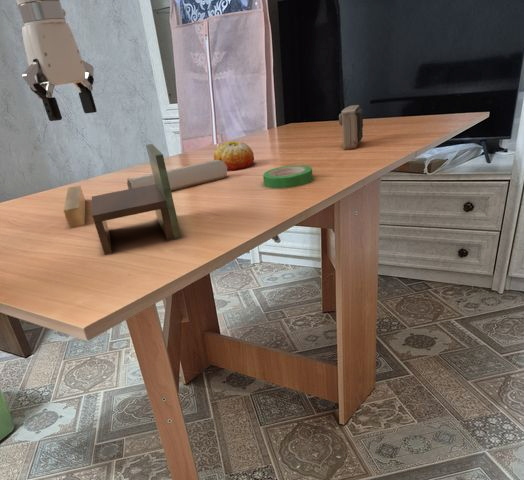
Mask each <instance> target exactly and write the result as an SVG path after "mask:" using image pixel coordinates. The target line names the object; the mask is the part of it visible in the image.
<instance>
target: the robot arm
mask: <svg viewBox="0 0 524 480" xmlns="http://www.w3.org/2000/svg"><path fill="white" fill-rule="evenodd" d="M15 1H16V4H17V6H18V7H17V8H18V10H19V14H20V16H21V19H22V23H23V26H21V35H22V40H23V46H24V51H25V55H26V59H27V63H28V67H27V68H26V70H25V71H23V72H22V75H21V76H22V78H23V80H24V81H25V83H26V84H27V85H28V86H29V88H30V91H32V92H33V93H34V94H35V95H36V96H37V98H38V99H39V100H41V101H42V103H43V107H44V110H45V113H46V115H47V118H48V120H49V122H55V121H62V119H63V116H62V113H61V110H60V107H59V104H58V101H57V98H56V97H55V96H53V94H54V89H55V86H61V85H67V84H73V85H74V86H75V87H76V88H77V89H78V90H79V91H80V92H78V97H79V100H80V103H81V107H82V111H83V113H85V114H93V113H94V114H95V113H97V111H98V110H97V107H96V103H95V100H94V96H93V92H92V91H93V90H94V87H93V85H94V82H95V78H94V69H95V68H94V66H93V65H92V64H90V63H88V62H87V61H85V60H83V59H82V56H81V52H80V49H79V46H78V43H77V41H76V39H75V36H74V34H73V31H72V29H71V26H70V24H69V23H67V20H66V15H67V14H66V11H65V9H64V8H63V7H62V4H61V0H15Z"/></svg>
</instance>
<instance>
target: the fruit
mask: <svg viewBox="0 0 524 480" xmlns="http://www.w3.org/2000/svg"><path fill="white" fill-rule="evenodd" d="M213 160H221V161H223V162H224V163H225V164H226V166H227V172H233V171H234V172H235V171H237V170H244V169H247V168H250V167H252V166H253V165H254V162H255V156H254V152H253V150H252V148H251V147H250V145H248V144H246V143H244V142H241V141H240V142H236V141H227V142H223V143H222V144H221V145H219V146H218V147H217V148H216V150H215V152H214V153H213Z"/></svg>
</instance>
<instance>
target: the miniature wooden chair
mask: <svg viewBox="0 0 524 480" xmlns="http://www.w3.org/2000/svg"><path fill="white" fill-rule="evenodd" d="M145 148H146V151H147V156H148V159H149V164H150V168H151V169H150V170H151V172H152V173H151V174H153V177H154V181H155V184H153V185H148V186H143V187H138V188H133V189H128V188H127V189H124V190H119V191H113V192H108V193H102V194H97V195H92V196H91V217H92V219H93V223H94V225H95V229H96V232H97V235H98V238H99V242H100V244H101V248H102V250H103V253H104V255H105V256H107V255H111V254H113V251H112V244H111V237H110V229H109V226H108V223H107V221H111V220H115V219H119V218H125V217H129V216H134V215H139V214H144V213H148V212H153V211H154V213H155V215H156V220H157V222H158V224H159V226H160V228H161V230H162V232H163V234H164V236H165V238H166V240H167V241H168V242H169V241H170V242H171V241H174V240H178V239H182V234H181V229H180V225H179V224H180V223H179V220H178V216H177V215H178V214H177V212H176V207H175V202H174V198H173V194H172V193H173V192H172V191H171V189H170V184H169V180H168V175H167V171H168V170H167V166H166V162H165V158H164V154H163V153H162V152H161V151H160V150H159V149H158V148H157V147H156V146H155V145H154V144H153V143H149V144H148V143H147V144H146V145H145Z"/></svg>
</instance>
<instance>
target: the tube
mask: <svg viewBox="0 0 524 480" xmlns="http://www.w3.org/2000/svg"><path fill="white" fill-rule="evenodd" d="M166 171H167V175H168V180H169V184H170V189H171V192H174V191H178V190H182V189H186V188H190V187H194V186H197V185H202V184H207V183H211V182H214V181H219V180H223V179H225V178H226V177H227V176H228V171H227V166H226V164H225V163H224V162H223V161H221V160H214V159H213V160H209V161H205V162H200V163H196V164H195V163H194V164H191V165H187V166H186V165H185V166H181V167H178V168H172V169H168V170H166ZM153 184H155V181H154V177H153V173H150V174H145V175H142V176H141V175H140V176H136V177H132V178H130V177H127V179H126V186H127V189H133V188H138V187H143V186H148V185H153Z"/></svg>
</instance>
